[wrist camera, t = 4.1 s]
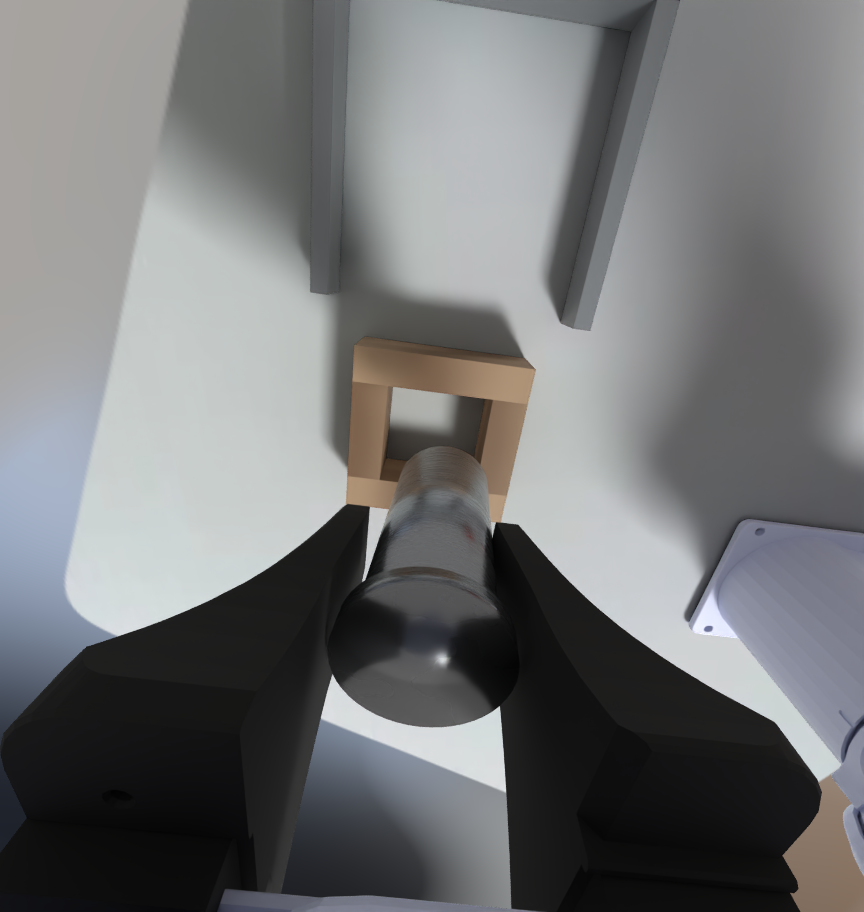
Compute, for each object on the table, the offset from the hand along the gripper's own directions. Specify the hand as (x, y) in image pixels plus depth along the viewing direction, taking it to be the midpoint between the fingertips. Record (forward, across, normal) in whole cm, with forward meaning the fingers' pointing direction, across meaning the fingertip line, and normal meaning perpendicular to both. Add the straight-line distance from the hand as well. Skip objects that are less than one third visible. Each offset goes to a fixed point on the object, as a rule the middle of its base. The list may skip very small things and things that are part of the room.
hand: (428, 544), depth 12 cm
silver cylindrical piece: (+3, 0, 0) cm, 3 cm away
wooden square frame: (+10, 0, 0) cm, 10 cm away
